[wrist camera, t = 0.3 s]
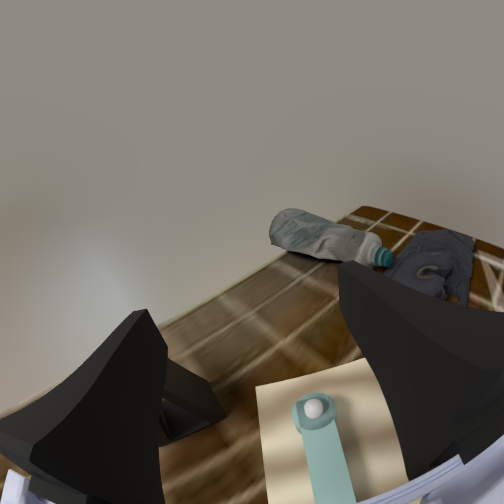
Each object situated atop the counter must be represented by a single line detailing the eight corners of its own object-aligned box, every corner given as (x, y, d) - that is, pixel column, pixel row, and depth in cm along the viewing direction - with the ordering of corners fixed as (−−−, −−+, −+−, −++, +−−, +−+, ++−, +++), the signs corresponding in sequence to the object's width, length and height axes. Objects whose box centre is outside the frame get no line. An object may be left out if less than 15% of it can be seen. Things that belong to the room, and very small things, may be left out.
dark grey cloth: (482, 251, 36) (486, 228, 33) (456, 336, 25) (466, 309, 23) (414, 232, 47) (415, 211, 45) (363, 299, 37) (363, 273, 34)
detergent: (261, 250, 55) (360, 302, 35) (255, 217, 52) (361, 257, 32) (309, 228, 60) (406, 264, 40) (306, 198, 57) (409, 224, 37)
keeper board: (504, 470, 8) (534, 452, 6) (278, 564, 10) (265, 574, 7) (430, 335, 27) (440, 303, 24) (257, 390, 28) (244, 364, 25)
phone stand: (208, 382, 30) (165, 314, 25) (227, 418, 26) (180, 354, 20) (147, 409, 28) (89, 349, 22) (158, 447, 23) (90, 393, 17)
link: (292, 408, 24) (287, 393, 22) (331, 398, 23) (330, 382, 22) (317, 547, 10) (315, 551, 8) (367, 534, 10) (373, 536, 8)
